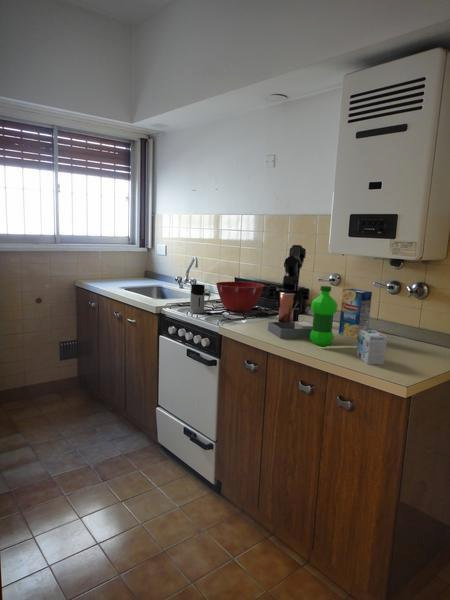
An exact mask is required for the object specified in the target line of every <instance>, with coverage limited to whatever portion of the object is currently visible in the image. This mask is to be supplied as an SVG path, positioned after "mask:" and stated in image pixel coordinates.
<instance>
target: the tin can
mask: <svg viewBox="0 0 450 600" xmlns="http://www.w3.org/2000/svg"><path fill="white" fill-rule="evenodd" d="M294 296H295V293H292V292H280V303H279V307H278V317H277V318H278V320H277V322H282V323H292V322H293V306H294Z"/></svg>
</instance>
